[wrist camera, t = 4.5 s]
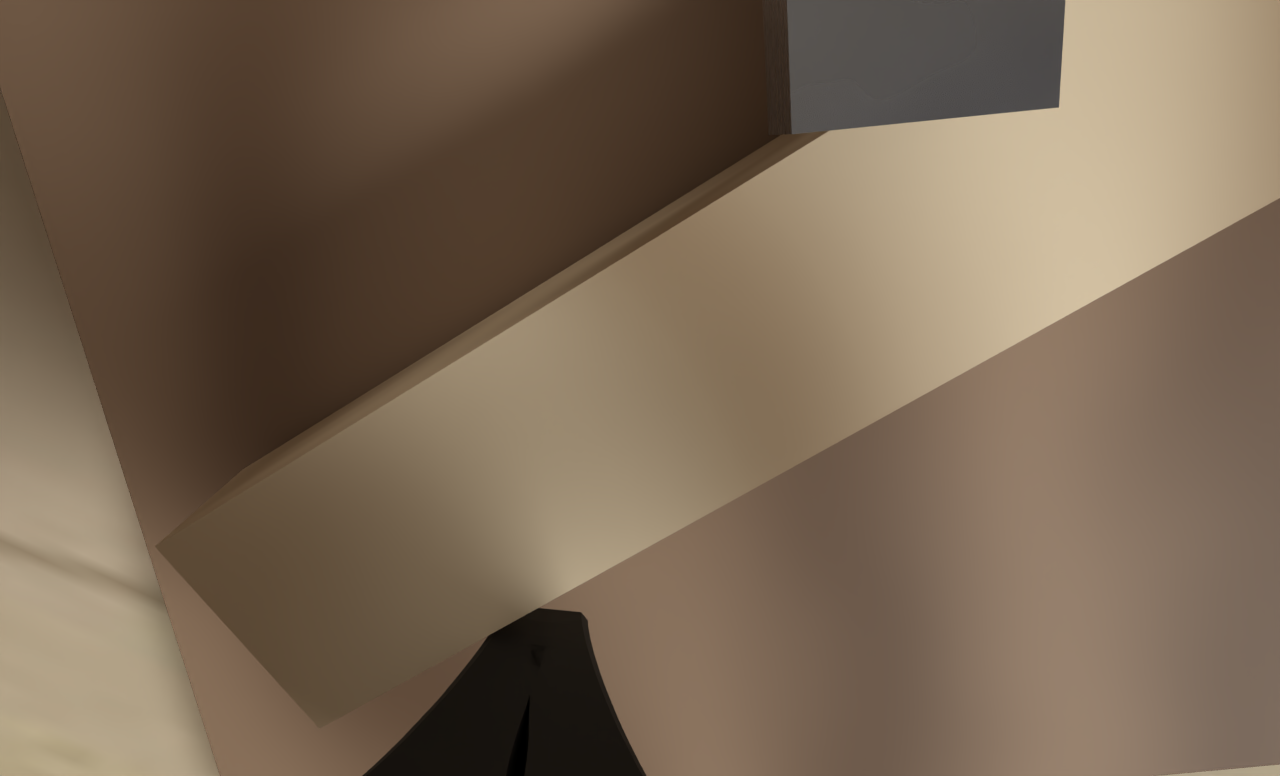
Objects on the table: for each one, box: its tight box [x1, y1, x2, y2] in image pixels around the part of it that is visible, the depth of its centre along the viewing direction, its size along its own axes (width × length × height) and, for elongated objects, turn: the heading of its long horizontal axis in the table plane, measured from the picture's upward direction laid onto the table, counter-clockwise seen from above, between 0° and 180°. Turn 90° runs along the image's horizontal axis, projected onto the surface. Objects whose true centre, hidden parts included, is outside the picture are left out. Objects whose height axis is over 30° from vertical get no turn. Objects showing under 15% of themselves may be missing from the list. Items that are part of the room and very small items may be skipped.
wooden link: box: [155, 0, 1280, 729], centre depth 8 cm, size 18×4×5 cm, turn 121°
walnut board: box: [0, 0, 1280, 776], centre depth 11 cm, size 22×23×1 cm
